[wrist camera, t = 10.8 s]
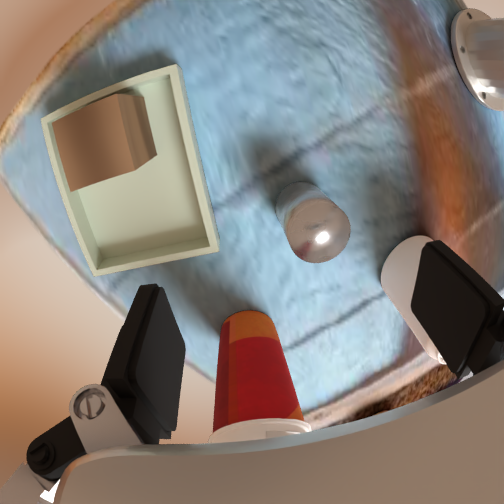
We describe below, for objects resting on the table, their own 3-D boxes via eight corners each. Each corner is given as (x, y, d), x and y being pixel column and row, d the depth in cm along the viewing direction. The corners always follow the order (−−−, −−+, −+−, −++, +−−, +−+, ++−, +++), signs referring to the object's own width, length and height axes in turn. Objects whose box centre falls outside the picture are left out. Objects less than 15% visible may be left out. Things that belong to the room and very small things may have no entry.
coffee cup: (242, 364, 34) (253, 476, 20) (194, 327, 30) (185, 455, 17) (299, 330, 32) (334, 448, 19) (255, 286, 28) (278, 423, 15)
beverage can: (364, 272, 29) (420, 352, 18) (416, 218, 26) (492, 279, 16) (398, 305, 32) (446, 376, 21) (443, 259, 29) (504, 319, 19)
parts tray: (181, 68, 18) (176, 63, 16) (219, 238, 26) (219, 251, 23) (56, 116, 19) (40, 118, 16) (103, 262, 26) (93, 276, 23)
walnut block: (143, 96, 19) (116, 93, 13) (157, 155, 21) (135, 170, 16) (89, 116, 19) (51, 122, 13) (103, 171, 21) (70, 192, 16)
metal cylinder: (322, 177, 24) (349, 198, 18) (326, 225, 26) (350, 256, 21) (271, 186, 24) (285, 209, 19) (278, 234, 26) (292, 268, 21)
